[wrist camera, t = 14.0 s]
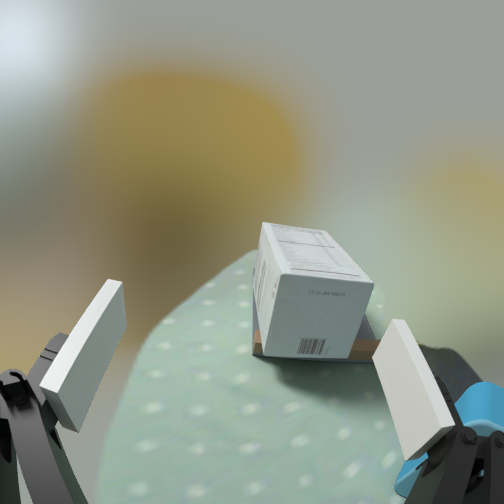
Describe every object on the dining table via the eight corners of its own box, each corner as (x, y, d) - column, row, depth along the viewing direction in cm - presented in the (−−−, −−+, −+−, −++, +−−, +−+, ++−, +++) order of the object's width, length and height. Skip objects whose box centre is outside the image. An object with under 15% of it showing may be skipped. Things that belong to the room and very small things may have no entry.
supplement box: (349, 360, 30) (313, 288, 46) (377, 282, 27) (328, 230, 43) (259, 356, 29) (250, 281, 45) (278, 271, 26) (261, 220, 42)
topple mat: (382, 363, 33) (389, 351, 32) (252, 355, 32) (255, 342, 31) (349, 283, 49) (352, 273, 48) (253, 270, 48) (255, 259, 47)
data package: (486, 490, 16) (569, 420, 10) (477, 524, 12) (572, 459, 7) (403, 454, 22) (477, 373, 16) (386, 489, 18) (473, 416, 13)
